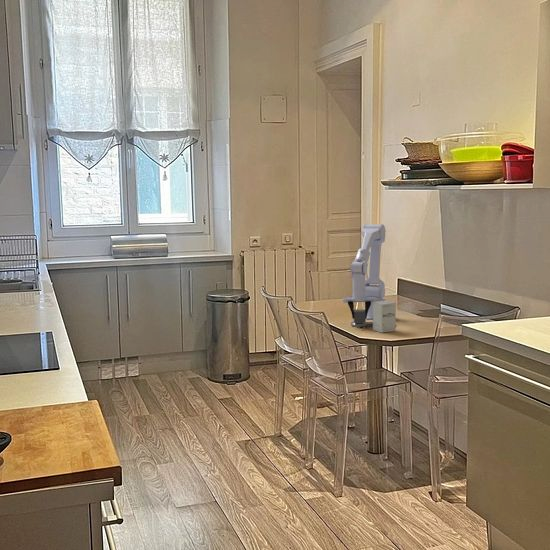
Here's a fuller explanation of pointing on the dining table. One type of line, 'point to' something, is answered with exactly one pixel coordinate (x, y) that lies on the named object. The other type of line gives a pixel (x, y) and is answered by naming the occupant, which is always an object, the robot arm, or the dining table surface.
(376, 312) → the supplement box
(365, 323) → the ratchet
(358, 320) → the dark grey cube
